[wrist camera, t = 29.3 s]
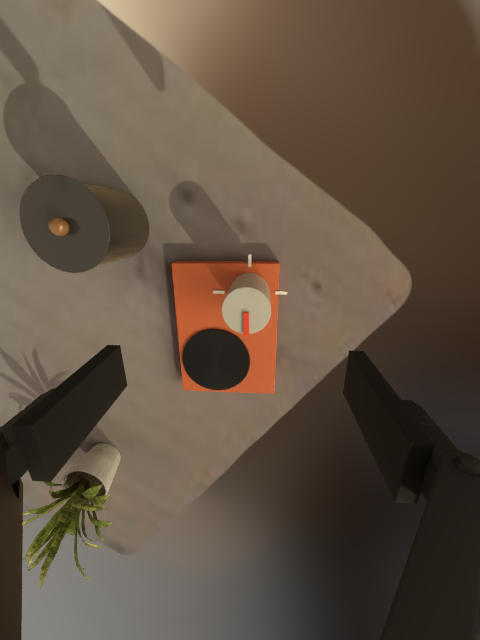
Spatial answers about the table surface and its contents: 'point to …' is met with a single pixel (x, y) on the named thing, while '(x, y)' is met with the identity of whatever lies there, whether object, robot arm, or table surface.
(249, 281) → the hob knob
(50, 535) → the house plant
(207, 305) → the hot plate
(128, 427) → the table surface
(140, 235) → the enamel pot
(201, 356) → the burner
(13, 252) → the table surface
